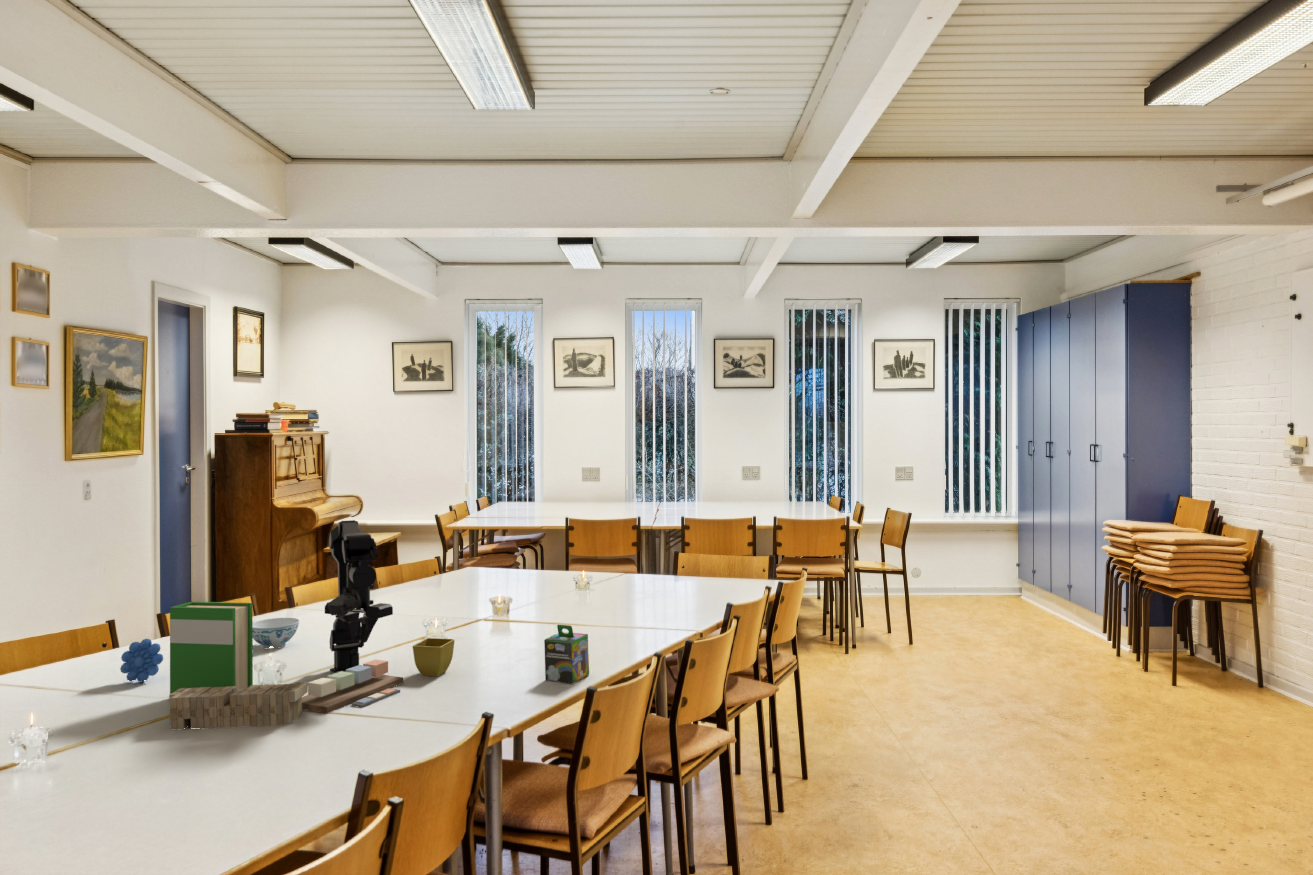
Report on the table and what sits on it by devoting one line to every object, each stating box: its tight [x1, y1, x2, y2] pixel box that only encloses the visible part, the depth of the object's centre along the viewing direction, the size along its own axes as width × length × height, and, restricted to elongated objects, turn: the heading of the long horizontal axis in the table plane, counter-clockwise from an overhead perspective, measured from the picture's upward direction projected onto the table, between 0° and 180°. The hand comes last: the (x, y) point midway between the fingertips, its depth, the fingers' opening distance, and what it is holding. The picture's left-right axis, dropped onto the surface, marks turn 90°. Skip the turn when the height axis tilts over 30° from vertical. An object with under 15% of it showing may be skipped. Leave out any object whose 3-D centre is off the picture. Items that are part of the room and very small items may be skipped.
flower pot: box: [412, 637, 455, 677], centre depth 218 cm, size 9×9×9 cm
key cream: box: [307, 677, 336, 697], centre depth 192 cm, size 4×4×3 cm
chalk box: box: [543, 624, 590, 685], centre depth 213 cm, size 9×9×15 cm
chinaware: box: [252, 617, 300, 649], centre depth 251 cm, size 15×15×8 cm
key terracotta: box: [362, 659, 389, 677], centre depth 208 cm, size 4×4×3 cm
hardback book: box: [169, 601, 254, 695], centre depth 198 cm, size 18×7×24 cm, turn 81°
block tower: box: [168, 681, 308, 730], centre depth 181 cm, size 8×8×29 cm
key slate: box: [346, 664, 372, 683], centre depth 203 cm, size 4×4×3 cm
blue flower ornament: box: [119, 638, 164, 682], centre depth 214 cm, size 12×7×12 cm, turn 89°
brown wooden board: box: [301, 674, 404, 714], centre depth 200 cm, size 12×26×2 cm, turn 156°
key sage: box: [326, 671, 354, 690], centre depth 197 cm, size 4×4×3 cm
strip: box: [351, 688, 401, 708], centre depth 196 cm, size 4×13×1 cm, turn 156°
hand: (358, 641), depth 203 cm, fingers open, 4 cm apart
